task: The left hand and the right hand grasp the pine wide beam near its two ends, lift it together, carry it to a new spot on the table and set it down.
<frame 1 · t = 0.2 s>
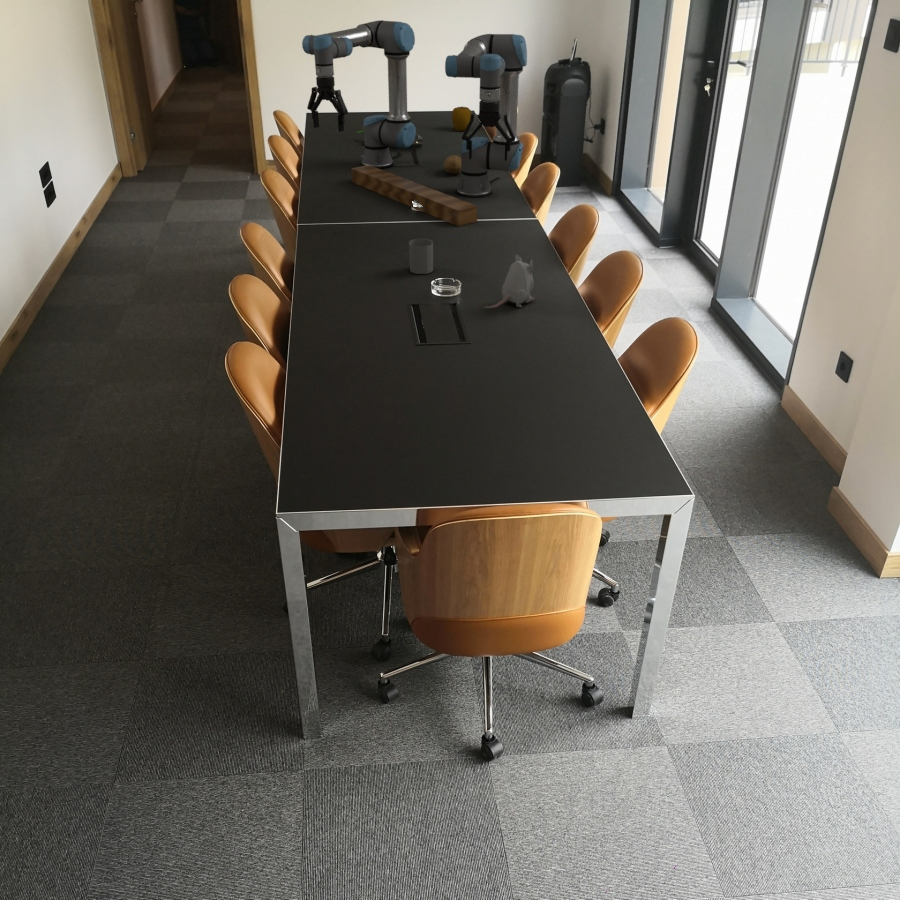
left hand: (328, 129, 373), 27 cm above the table, tool pointing down, fingers open, 13 cm apart
right hand: (488, 159, 332), 27 cm above the table, tool pointing down, fingers open, 13 cm apart
yellow bell pepper: (461, 130, 491), on the table
wide beam: (410, 200, 378), on the table
potato: (453, 174, 415), on the table
scepter: (383, 142, 467), on the table
toy: (507, 307, 280), on the table
cup: (421, 270, 308), on the table
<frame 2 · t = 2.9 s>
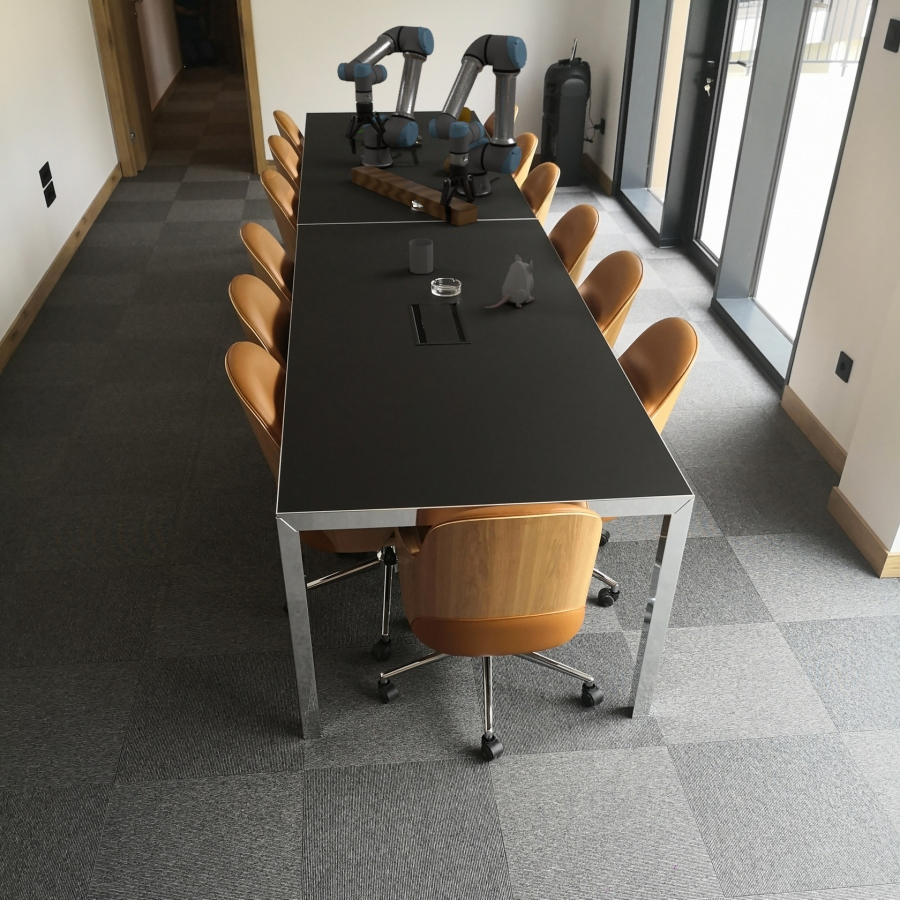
left hand: (366, 151, 393), 14 cm above the table, tool pointing down, fingers open, 13 cm apart
right hand: (458, 219, 355), 0 cm above the table, tool pointing down, fingers closed on wide beam, 10 cm apart
wide beam: (410, 200, 378), on the table, touching right hand
everything else where it was.
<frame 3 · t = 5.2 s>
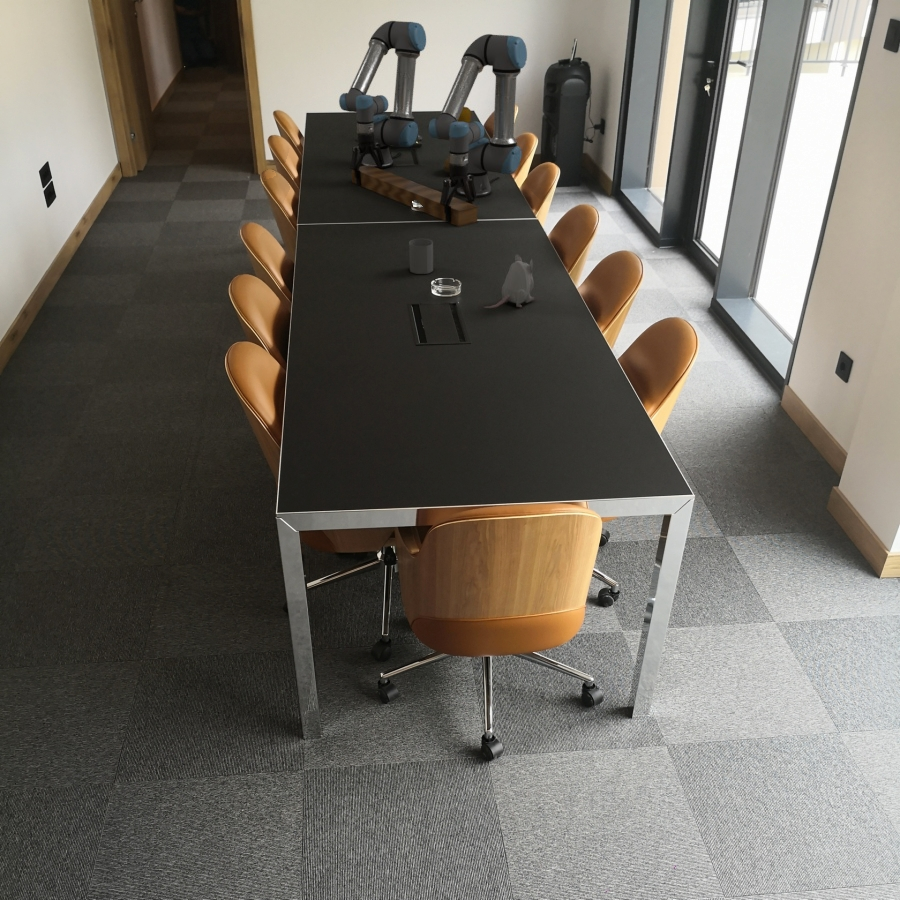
left hand: (368, 182, 400), 0 cm above the table, tool pointing down, fingers closed on wide beam, 10 cm apart
right hand: (458, 219, 355), 0 cm above the table, tool pointing down, fingers closed on wide beam, 10 cm apart
wide beam: (410, 200, 378), on the table, touching left hand, right hand
everything else where it was.
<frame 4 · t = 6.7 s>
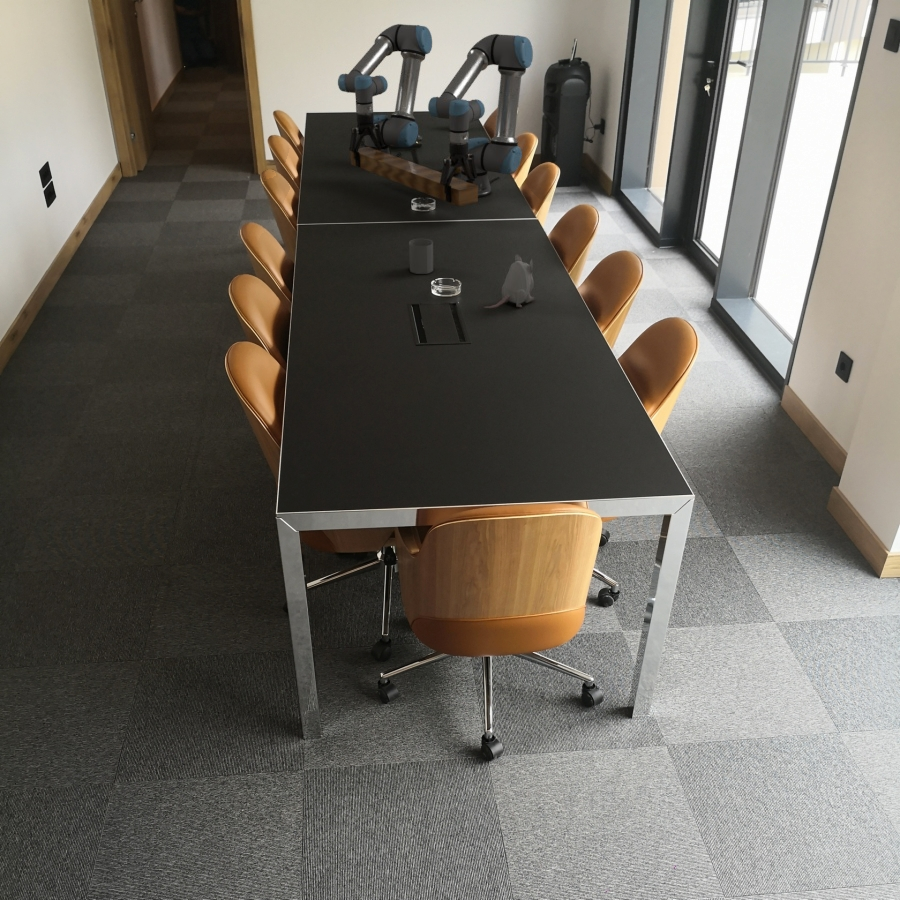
left hand: (367, 164, 396), 9 cm above the table, tool pointing down, fingers closed on wide beam, 10 cm apart
right hand: (458, 199, 351), 9 cm above the table, tool pointing down, fingers closed on wide beam, 10 cm apart
wide beam: (410, 182, 374), point 8 cm above the table, touching left hand, right hand
everything else where it was.
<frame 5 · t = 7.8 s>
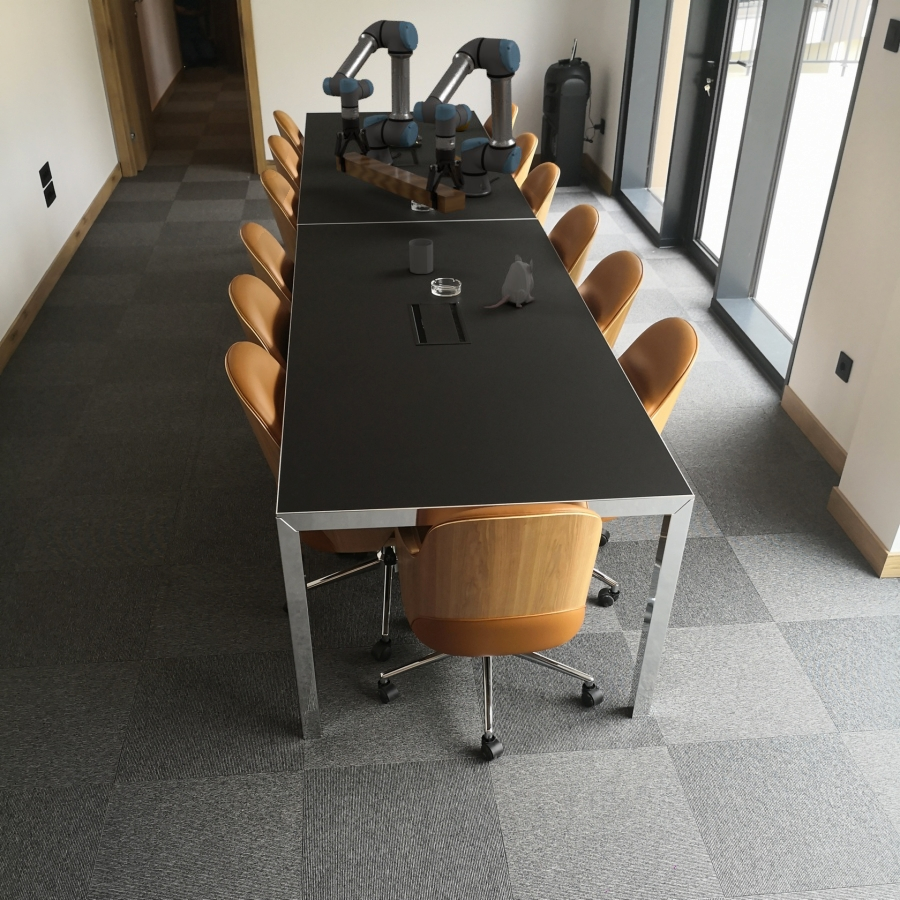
left hand: (353, 170, 385), 9 cm above the table, tool pointing down, fingers closed on wide beam, 10 cm apart
right hand: (445, 206, 340), 9 cm above the table, tool pointing down, fingers closed on wide beam, 10 cm apart
wide beam: (396, 188, 363), point 9 cm above the table, touching left hand, right hand
everything else where it was.
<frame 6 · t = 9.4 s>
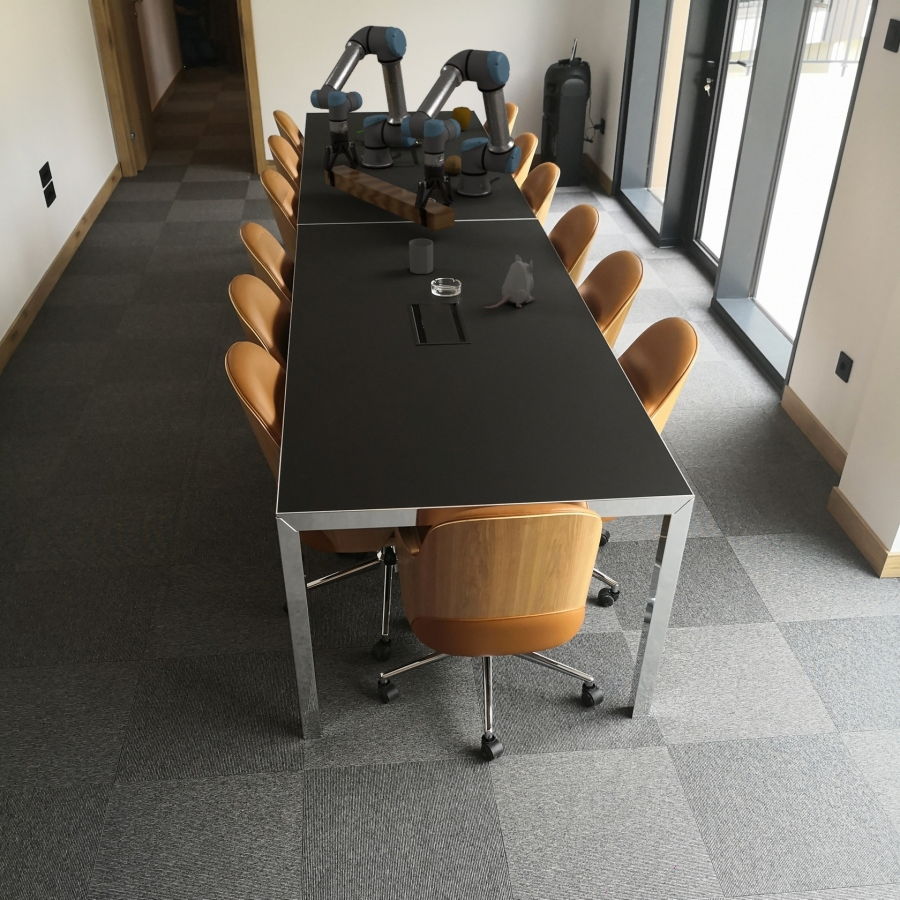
left hand: (342, 183, 379), 6 cm above the table, tool pointing down, fingers closed on wide beam, 10 cm apart
right hand: (434, 223, 335), 6 cm above the table, tool pointing down, fingers closed on wide beam, 10 cm apart
wide beam: (385, 203, 357), point 5 cm above the table, touching left hand, right hand
everything else where it was.
when the left hand's fingers open (2 cm above the table, at t = 10.6 s): wide beam stays where it is, on the table.
when the right hand's fingers open (1 cm above the table, at t = 10.6 s): wide beam stays where it is, on the table.
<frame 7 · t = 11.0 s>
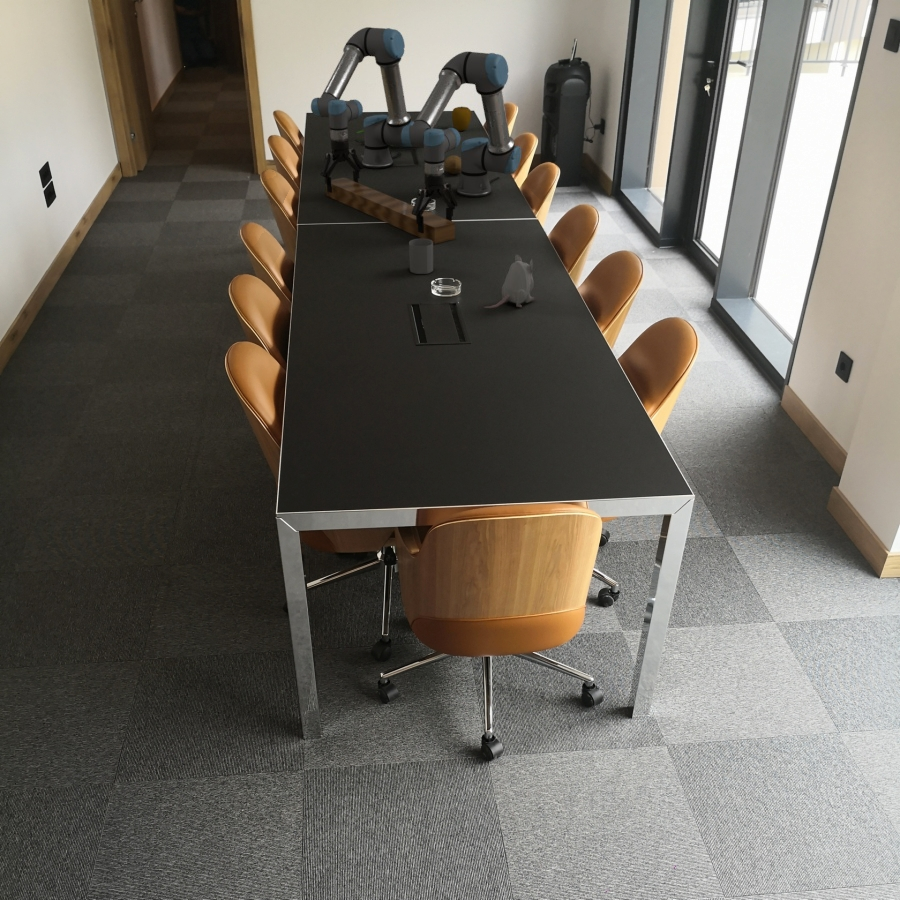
left hand: (343, 189, 381), 3 cm above the table, tool pointing down, fingers open, 13 cm apart
right hand: (435, 228, 336), 3 cm above the table, tool pointing down, fingers open, 13 cm apart
wide beam: (386, 216, 360), on the table
everything else where it was.
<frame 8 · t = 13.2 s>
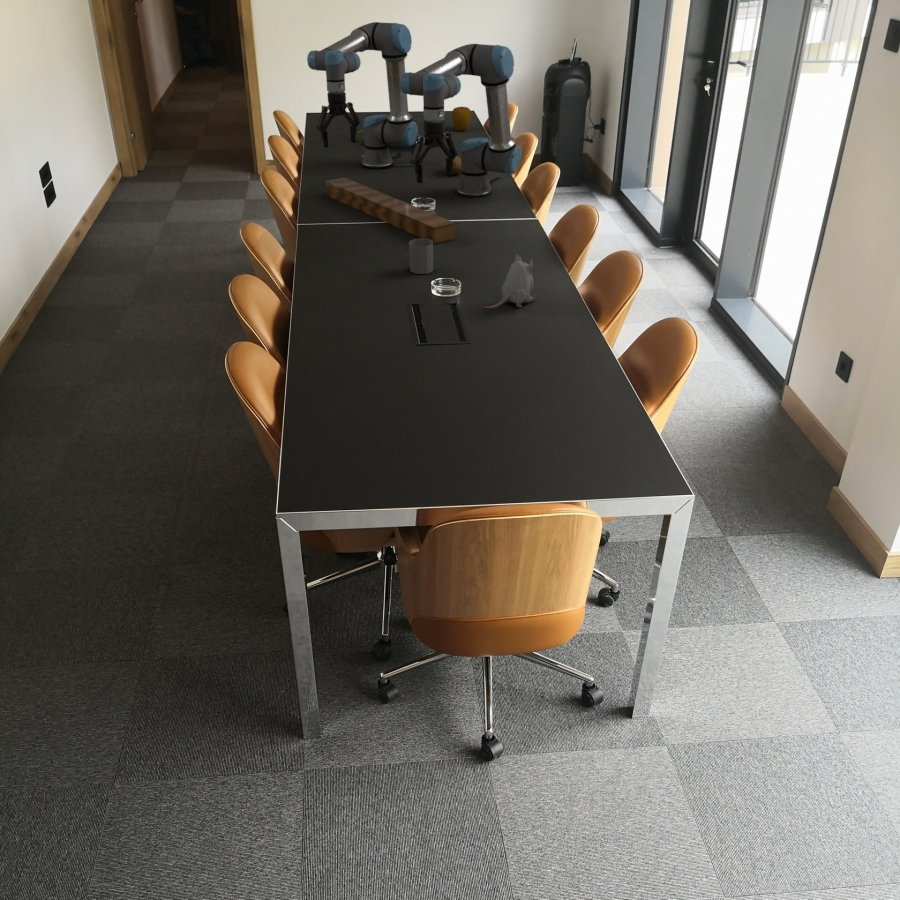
left hand: (339, 144, 370), 22 cm above the table, tool pointing down, fingers open, 13 cm apart
right hand: (434, 179, 325), 22 cm above the table, tool pointing down, fingers open, 13 cm apart
nothing on the table moved.
at the end: wide beam inside the target area (0.3 cm from its centre), on the table; wide beam tilted 0°; wide beam never tilted more than 2° during the clip; both hands held the wide beam at the same time; the left hand is holding nothing; the right hand is holding nothing; wide beam at rest at the end (0.0 cm/s) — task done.
